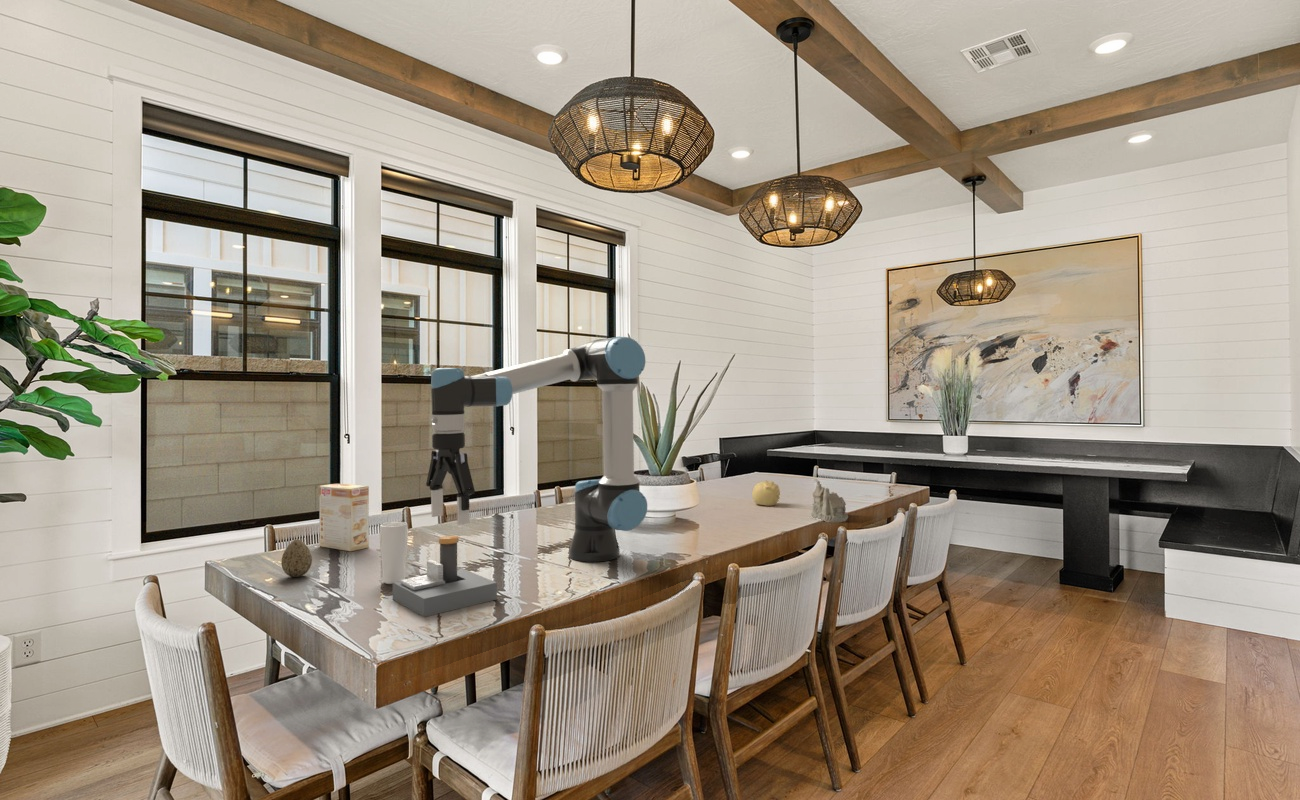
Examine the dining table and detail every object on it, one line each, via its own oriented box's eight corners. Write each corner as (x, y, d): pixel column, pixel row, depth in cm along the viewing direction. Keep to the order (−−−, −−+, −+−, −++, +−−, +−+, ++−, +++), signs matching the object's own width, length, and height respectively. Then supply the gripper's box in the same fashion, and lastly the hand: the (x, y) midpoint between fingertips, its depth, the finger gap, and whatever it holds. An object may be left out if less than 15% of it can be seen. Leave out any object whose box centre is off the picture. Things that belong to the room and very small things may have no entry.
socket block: (462, 584, 169) (462, 568, 169) (496, 599, 157) (496, 582, 156) (392, 599, 157) (392, 582, 157) (423, 616, 144) (423, 598, 144)
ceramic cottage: (825, 522, 250) (826, 483, 250) (804, 516, 265) (805, 479, 266) (861, 523, 254) (863, 484, 254) (838, 517, 269) (840, 480, 270)
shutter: (430, 577, 160) (430, 559, 160) (445, 583, 155) (445, 565, 155) (400, 583, 155) (400, 564, 155) (414, 590, 150) (413, 571, 150)
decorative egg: (317, 575, 176) (317, 538, 176) (291, 582, 170) (291, 543, 170) (301, 571, 180) (301, 535, 180) (275, 578, 174) (275, 540, 174)
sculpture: (777, 508, 282) (777, 482, 282) (749, 506, 287) (749, 481, 286) (782, 503, 293) (782, 479, 293) (755, 502, 297) (755, 478, 297)
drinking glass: (386, 578, 174) (386, 521, 174) (411, 578, 174) (411, 521, 174) (375, 585, 168) (375, 526, 167) (401, 585, 167) (401, 526, 167)
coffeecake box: (369, 547, 209) (369, 485, 209) (350, 552, 203) (350, 488, 202) (338, 542, 216) (338, 482, 216) (318, 546, 210) (318, 485, 209)
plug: (453, 591, 163) (453, 534, 162) (461, 595, 159) (462, 538, 159) (435, 595, 159) (435, 537, 159) (444, 599, 156) (444, 540, 156)
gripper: (411, 430, 165) (413, 515, 166) (458, 435, 147) (460, 530, 148) (439, 429, 171) (441, 510, 171) (488, 433, 152) (490, 524, 153)
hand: (450, 520), depth 159 cm, fingers open, 13 cm apart
